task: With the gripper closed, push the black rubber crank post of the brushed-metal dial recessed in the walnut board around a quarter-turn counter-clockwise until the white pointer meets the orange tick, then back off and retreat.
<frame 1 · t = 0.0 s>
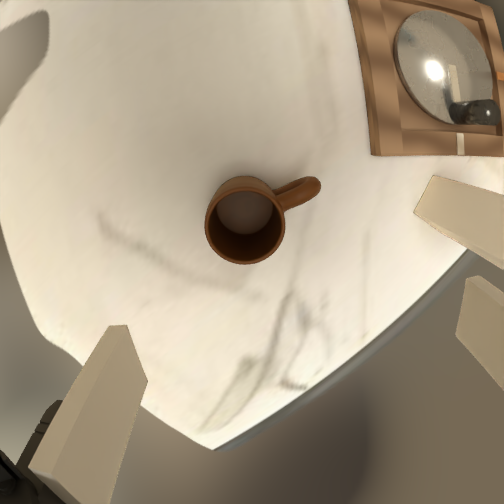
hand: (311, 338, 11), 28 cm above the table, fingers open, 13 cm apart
mug: (261, 197, 38), on the table
dial: (463, 61, 26), point 6 cm above the table, hinge at 0.0°
board: (438, 68, 32), on the table
milk: (436, 204, 38), on the table
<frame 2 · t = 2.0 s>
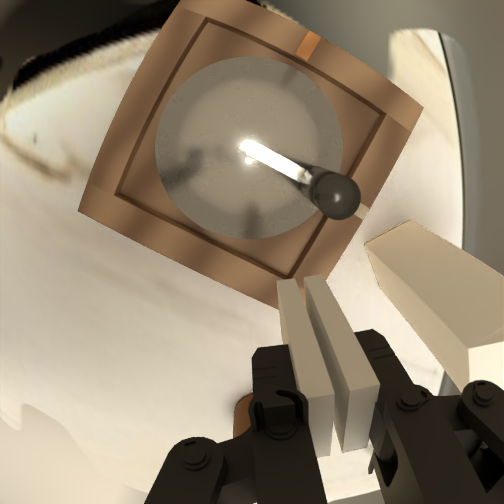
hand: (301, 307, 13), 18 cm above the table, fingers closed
mug: (264, 397, 39), on the table
dial: (249, 147, 23), point 6 cm above the table, hinge at 0.0°
board: (248, 146, 28), on the table
milk: (394, 254, 32), on the table
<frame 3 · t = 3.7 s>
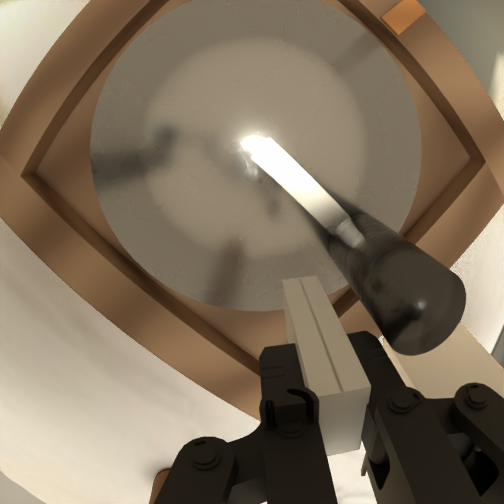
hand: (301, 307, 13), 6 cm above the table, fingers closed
mug: (194, 473, 26), on the table
dial: (264, 148, 11), point 6 cm above the table, hinge at 0.6°, touching gripper
board: (257, 146, 16), on the table
milk: (415, 353, 22), on the table
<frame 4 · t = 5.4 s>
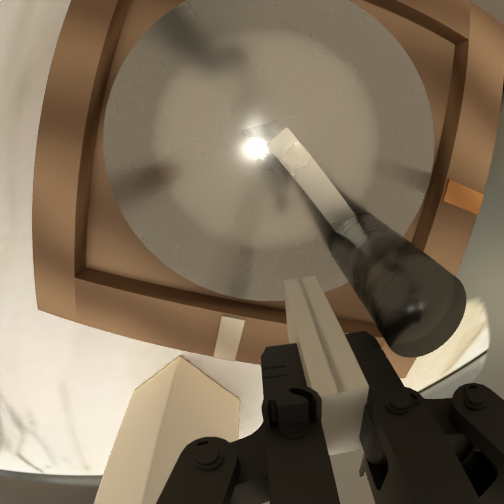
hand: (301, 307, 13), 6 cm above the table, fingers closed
dial: (282, 134, 11), point 6 cm above the table, hinge at 52.9°, touching gripper
board: (271, 136, 16), on the table
milk: (185, 394, 22), on the table
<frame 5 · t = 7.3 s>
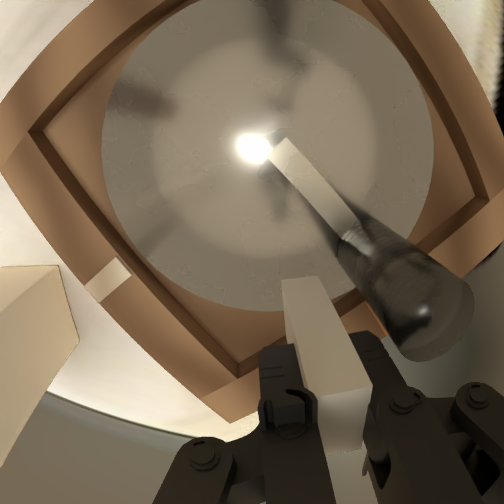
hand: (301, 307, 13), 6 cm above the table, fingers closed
dial: (283, 147, 11), point 6 cm above the table, hinge at 97.3°
board: (270, 145, 16), on the table
milk: (39, 302, 19), on the table
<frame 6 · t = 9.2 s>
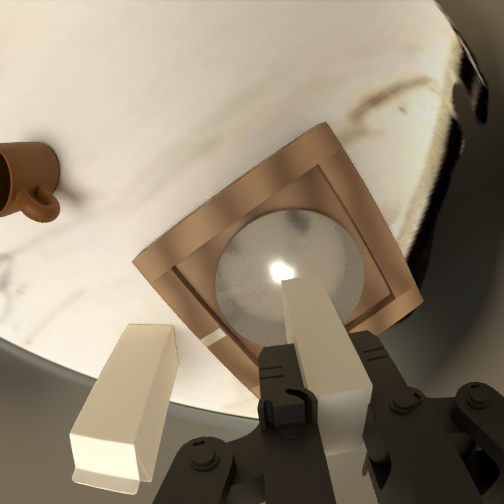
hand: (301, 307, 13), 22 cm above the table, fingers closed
mug: (50, 180, 32), on the table
dial: (297, 298, 30), point 6 cm above the table, hinge at 97.3°
board: (288, 275, 36), on the table
milk: (153, 343, 38), on the table
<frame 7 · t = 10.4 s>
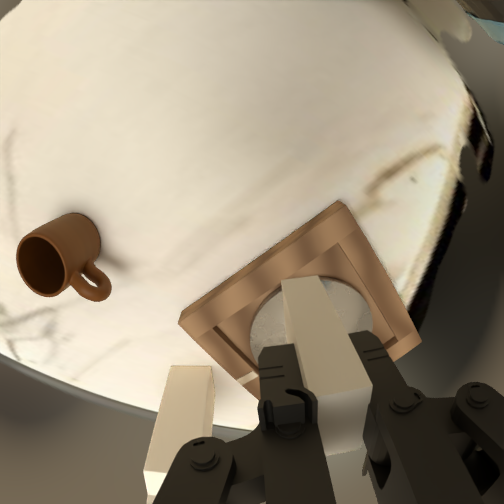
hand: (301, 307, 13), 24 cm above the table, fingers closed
mug: (91, 247, 38), on the table
dial: (317, 351, 36), point 6 cm above the table, hinge at 97.3°
board: (309, 325, 42), on the table
milk: (193, 379, 45), on the table
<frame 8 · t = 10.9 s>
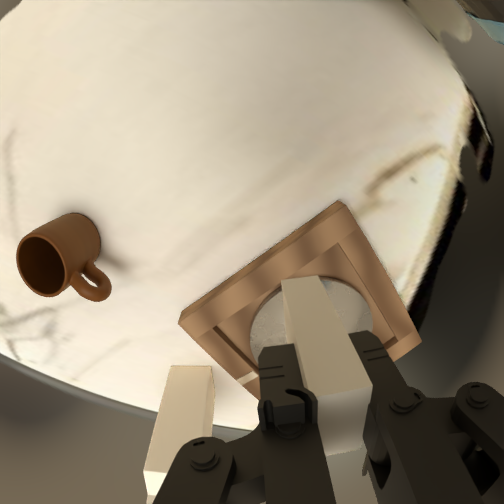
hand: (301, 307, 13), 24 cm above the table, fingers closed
mug: (91, 247, 38), on the table
dial: (317, 351, 36), point 6 cm above the table, hinge at 97.3°
board: (309, 325, 42), on the table
milk: (193, 379, 45), on the table
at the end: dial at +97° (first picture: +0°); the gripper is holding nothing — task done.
